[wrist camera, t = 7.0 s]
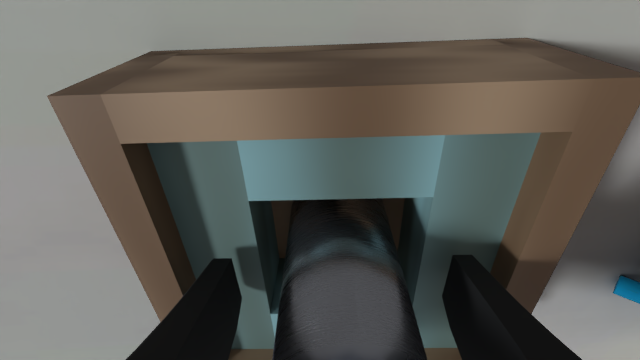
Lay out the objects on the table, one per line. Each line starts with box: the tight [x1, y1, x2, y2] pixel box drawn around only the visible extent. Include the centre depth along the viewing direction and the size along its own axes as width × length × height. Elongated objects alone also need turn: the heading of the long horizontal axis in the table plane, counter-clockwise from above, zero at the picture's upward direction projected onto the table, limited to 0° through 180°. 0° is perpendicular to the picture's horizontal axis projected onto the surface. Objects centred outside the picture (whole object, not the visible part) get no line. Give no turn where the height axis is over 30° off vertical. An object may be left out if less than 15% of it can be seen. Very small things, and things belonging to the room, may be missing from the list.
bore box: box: [47, 38, 640, 360], centre depth 12 cm, size 13×13×5 cm
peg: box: [272, 198, 427, 360], centre depth 11 cm, size 4×4×7 cm
